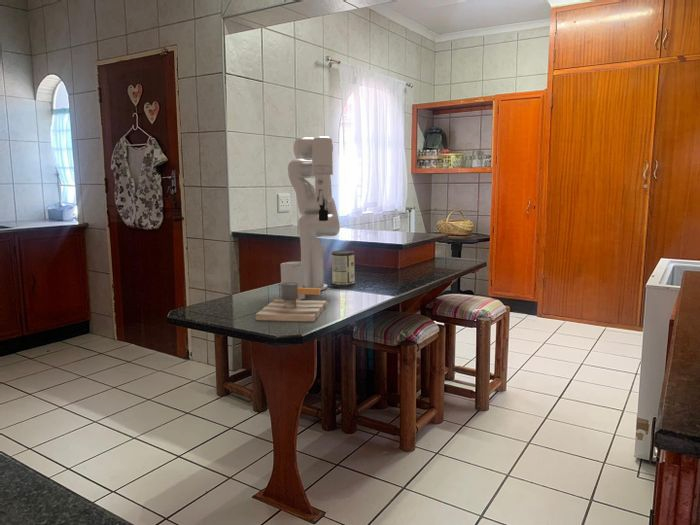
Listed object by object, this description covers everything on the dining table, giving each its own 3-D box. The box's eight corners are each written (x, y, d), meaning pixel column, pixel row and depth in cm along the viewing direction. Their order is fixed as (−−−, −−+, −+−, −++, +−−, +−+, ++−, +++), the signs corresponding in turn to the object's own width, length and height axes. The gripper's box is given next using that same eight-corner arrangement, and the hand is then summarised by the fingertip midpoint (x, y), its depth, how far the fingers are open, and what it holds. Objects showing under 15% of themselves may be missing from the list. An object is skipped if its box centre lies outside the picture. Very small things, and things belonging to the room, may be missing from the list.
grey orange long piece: (278, 299, 188) (278, 285, 188) (284, 295, 194) (284, 282, 193) (317, 301, 185) (317, 286, 185) (322, 297, 191) (322, 283, 190)
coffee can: (333, 280, 250) (333, 250, 248) (355, 280, 249) (355, 250, 247) (330, 284, 240) (330, 253, 238) (353, 284, 239) (353, 253, 237)
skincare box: (293, 302, 207) (292, 264, 204) (280, 301, 210) (279, 263, 207) (305, 298, 214) (304, 261, 212) (293, 296, 217) (292, 260, 214)
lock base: (274, 304, 204) (274, 291, 203) (326, 306, 201) (326, 292, 200) (255, 320, 182) (255, 305, 181) (314, 321, 179) (313, 306, 178)
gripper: (329, 170, 192) (330, 222, 195) (335, 171, 207) (336, 219, 210) (308, 171, 193) (309, 222, 196) (316, 171, 208) (317, 219, 211)
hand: (323, 220), depth 203 cm, fingers closed
